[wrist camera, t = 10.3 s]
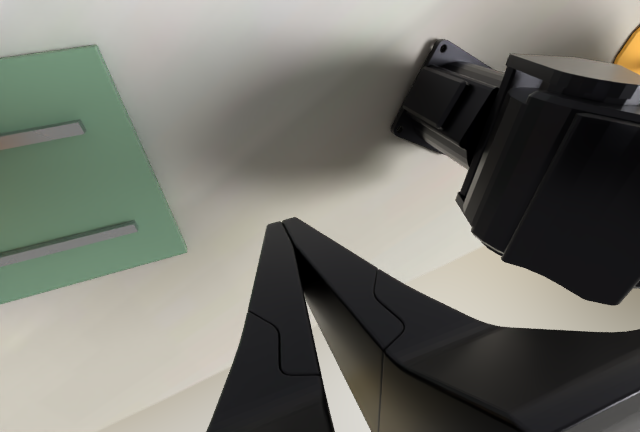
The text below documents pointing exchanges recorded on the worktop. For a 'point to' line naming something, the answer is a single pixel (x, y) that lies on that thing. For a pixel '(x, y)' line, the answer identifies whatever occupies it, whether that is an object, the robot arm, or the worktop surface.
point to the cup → (630, 53)
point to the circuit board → (74, 175)
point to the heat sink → (67, 242)
